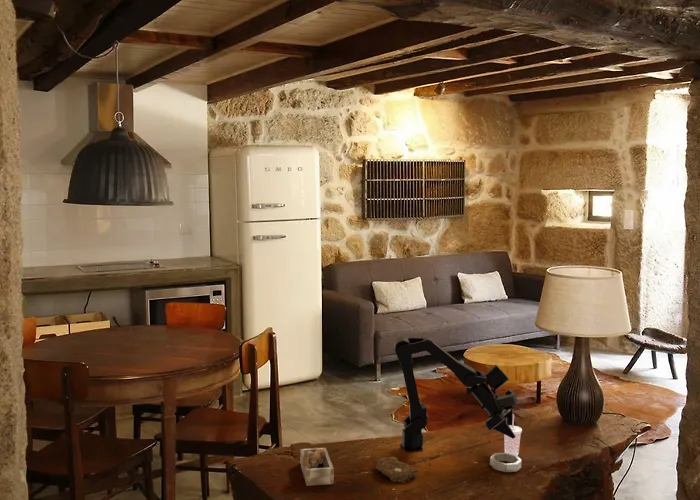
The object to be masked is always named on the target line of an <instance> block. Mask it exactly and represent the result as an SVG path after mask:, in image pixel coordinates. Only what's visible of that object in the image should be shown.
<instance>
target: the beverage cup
mask: <svg viewBox="0 0 700 500" xmlns="http://www.w3.org/2000/svg"><path fill="white" fill-rule="evenodd" d="M514 419H515V414H514V413H513V421H512V425H509V427H510V428H511V430H512V431H513V433H514V435H515V438H514V439H513V438H511V437H509V436H507V435H505V434H503V437H504V439H503V440H504V453H510V454H514V455H516V456H518V455H519V452H520V445H521V444H520V442H521V435H522V433H523V429H522V427H520V426H518V425H517V426H514Z"/></svg>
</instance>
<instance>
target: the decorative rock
mask: <svg viewBox="0 0 700 500" xmlns="http://www.w3.org/2000/svg"><path fill="white" fill-rule="evenodd" d="M375 470H377V471H379V472H381V474H382V475H384V476H386V477H387V478H389V479H390V481H391V482H392V483H393V482H394V483H396V482H397V483H399V482H400V483H402V484H406V482H409V481H410V480H411V479H412V478H414V477H415V474H416V473H418V469H415V468H414V467H413V466H412V465H411V464H408V463H405V462H403V461H400V460H399V459H398V458H397V457H395V455H394V456H393V455H392V456H390V455H389V456H388V457H385V456H383V457H380V458H378V459H377V462H376V466H375Z"/></svg>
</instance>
